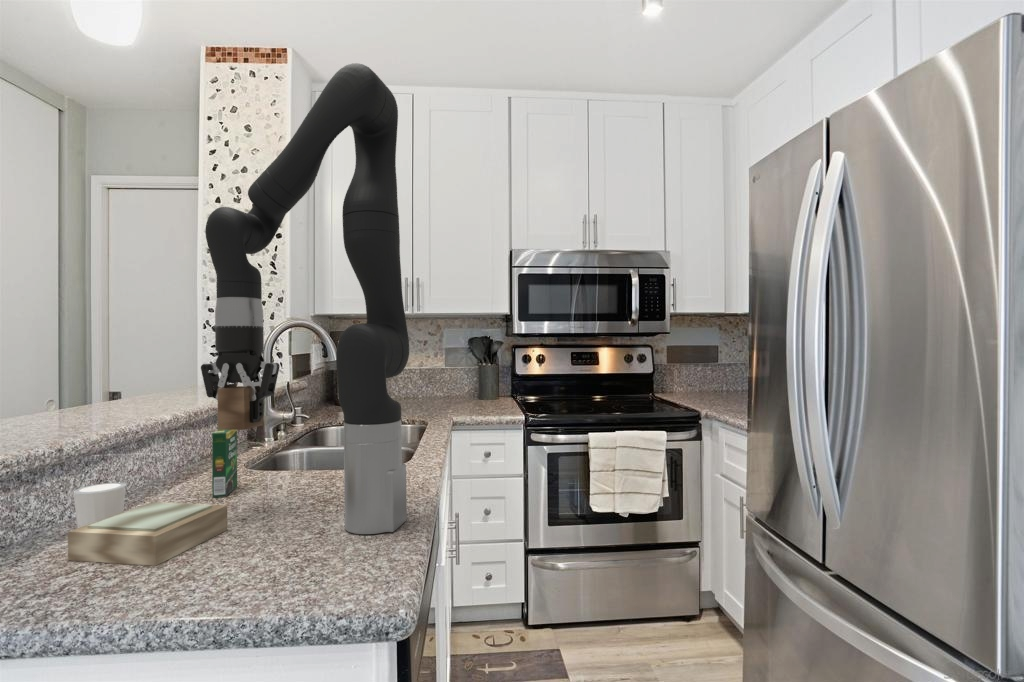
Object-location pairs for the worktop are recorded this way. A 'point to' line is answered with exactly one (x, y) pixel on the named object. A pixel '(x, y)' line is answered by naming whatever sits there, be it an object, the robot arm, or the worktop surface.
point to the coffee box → (224, 462)
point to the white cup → (98, 502)
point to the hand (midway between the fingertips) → (240, 421)
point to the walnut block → (235, 409)
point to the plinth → (147, 533)
